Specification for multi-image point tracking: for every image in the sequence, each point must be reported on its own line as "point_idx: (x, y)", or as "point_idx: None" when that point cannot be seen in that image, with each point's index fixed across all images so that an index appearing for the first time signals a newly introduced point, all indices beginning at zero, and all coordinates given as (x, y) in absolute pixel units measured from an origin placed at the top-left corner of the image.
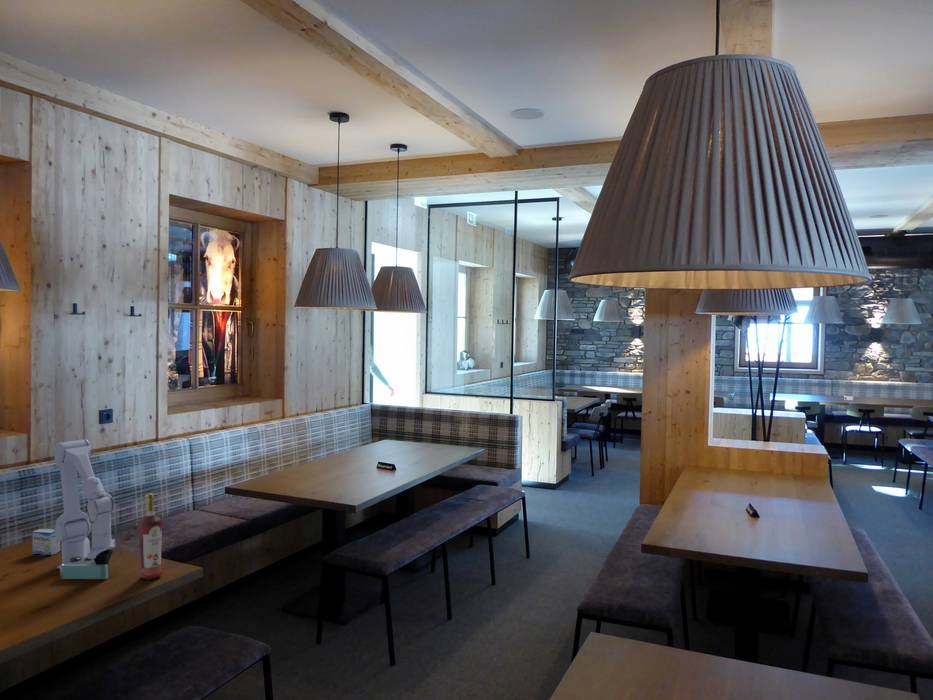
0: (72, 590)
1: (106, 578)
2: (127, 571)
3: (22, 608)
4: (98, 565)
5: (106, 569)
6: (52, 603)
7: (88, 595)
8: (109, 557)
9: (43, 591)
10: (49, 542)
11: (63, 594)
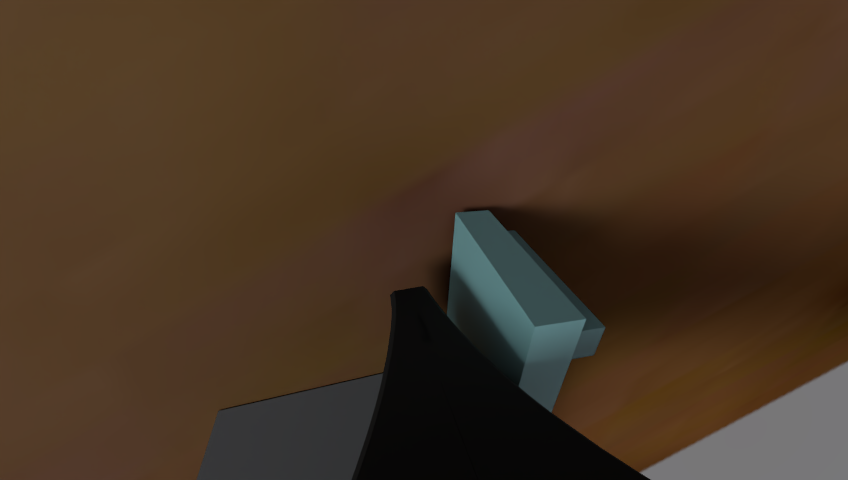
0: (653, 317)
1: (489, 211)
2: (151, 92)
3: (790, 369)
4: (550, 407)
5: (533, 274)
6: (815, 292)
7: (823, 147)
8: (407, 476)
9: (607, 427)
10: None
11: (700, 322)
